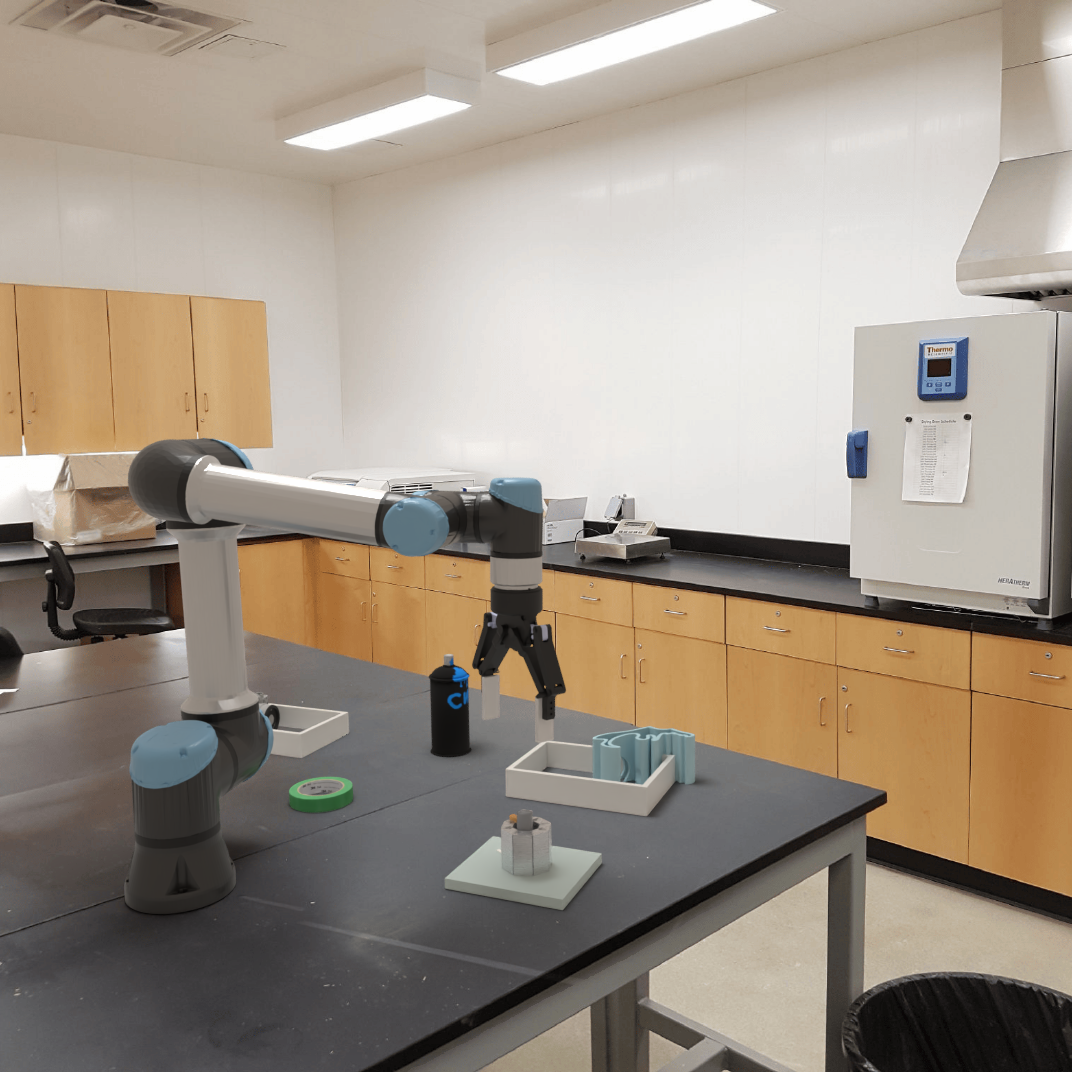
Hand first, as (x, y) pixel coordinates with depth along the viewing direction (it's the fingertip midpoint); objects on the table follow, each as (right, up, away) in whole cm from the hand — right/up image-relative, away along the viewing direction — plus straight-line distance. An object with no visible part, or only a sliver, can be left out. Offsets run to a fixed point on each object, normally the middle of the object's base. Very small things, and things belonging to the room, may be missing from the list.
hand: (516, 729), depth 147 cm
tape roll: (-35, -19, +32) cm, 51 cm away
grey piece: (+2, -20, 0) cm, 20 cm away
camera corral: (-52, -15, +67) cm, 86 cm away
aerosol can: (-14, -16, +57) cm, 61 cm away
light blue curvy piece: (+22, -18, +37) cm, 47 cm away
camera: (-58, -15, +69) cm, 91 cm away
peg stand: (+1, -21, 0) cm, 21 cm away
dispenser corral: (+13, -18, +35) cm, 41 cm away
